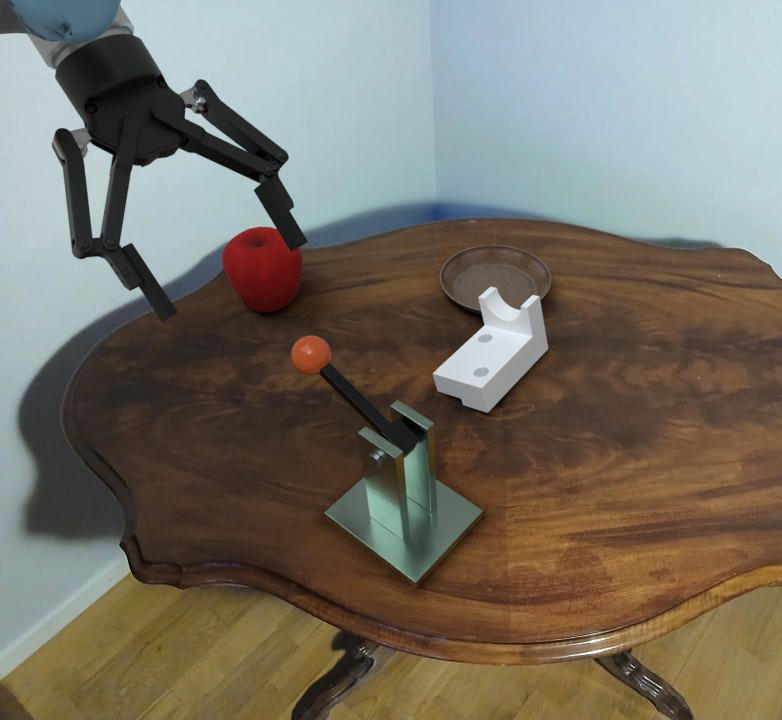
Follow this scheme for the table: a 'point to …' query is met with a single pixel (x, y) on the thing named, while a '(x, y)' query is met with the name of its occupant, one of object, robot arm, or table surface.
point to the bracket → (494, 352)
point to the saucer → (494, 276)
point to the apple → (262, 269)
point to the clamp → (403, 503)
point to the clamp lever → (348, 391)
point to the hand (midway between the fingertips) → (238, 280)
